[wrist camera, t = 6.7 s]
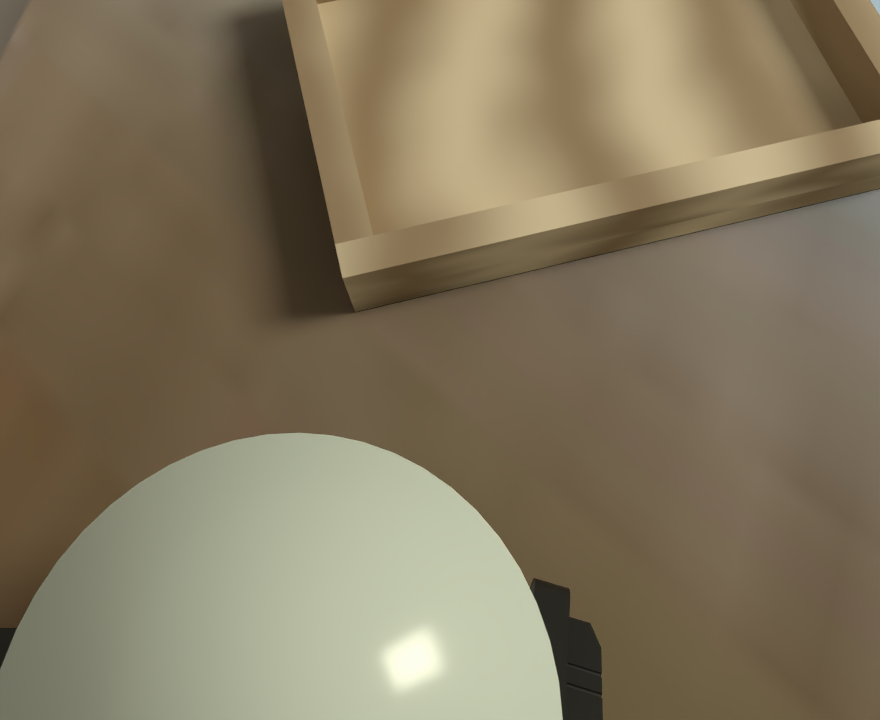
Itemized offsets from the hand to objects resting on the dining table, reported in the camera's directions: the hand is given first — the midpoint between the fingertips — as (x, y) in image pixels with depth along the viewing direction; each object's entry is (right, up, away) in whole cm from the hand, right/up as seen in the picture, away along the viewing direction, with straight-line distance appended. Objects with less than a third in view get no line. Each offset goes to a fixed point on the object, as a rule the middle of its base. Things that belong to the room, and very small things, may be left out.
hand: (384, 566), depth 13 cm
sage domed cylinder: (0, -3, +5) cm, 6 cm away
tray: (+6, +15, +11) cm, 19 cm away
